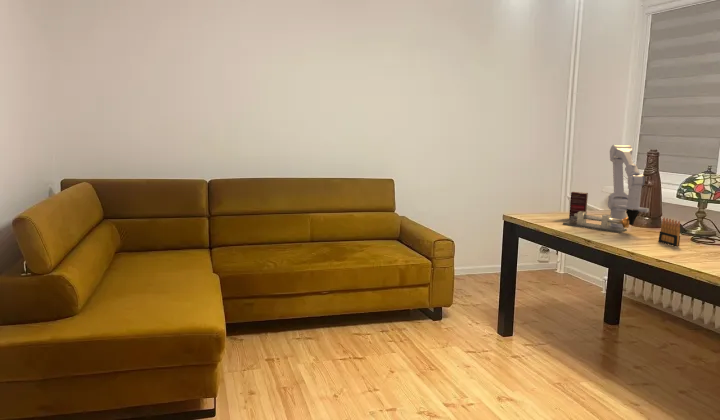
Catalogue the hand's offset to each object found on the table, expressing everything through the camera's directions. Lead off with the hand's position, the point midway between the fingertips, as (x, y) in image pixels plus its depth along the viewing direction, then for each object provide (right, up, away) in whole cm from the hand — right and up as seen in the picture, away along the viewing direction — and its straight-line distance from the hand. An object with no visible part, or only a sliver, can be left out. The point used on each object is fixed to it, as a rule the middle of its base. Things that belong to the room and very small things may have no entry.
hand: (631, 224), depth 282 cm
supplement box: (-14, +2, +36) cm, 38 cm away
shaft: (-11, 0, +11) cm, 16 cm away
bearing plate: (-13, -2, +14) cm, 19 cm away
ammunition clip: (+6, -9, -23) cm, 26 cm away
